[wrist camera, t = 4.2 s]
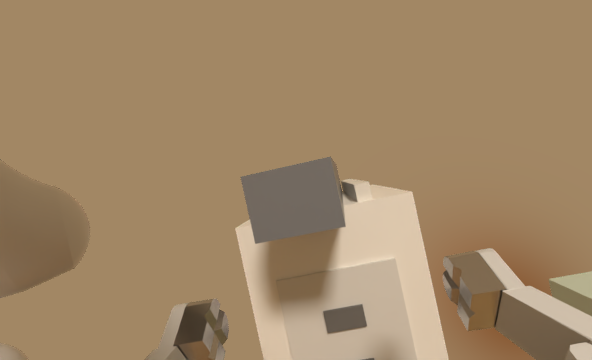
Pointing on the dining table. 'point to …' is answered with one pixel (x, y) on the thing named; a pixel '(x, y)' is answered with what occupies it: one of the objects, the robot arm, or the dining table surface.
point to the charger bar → (294, 200)
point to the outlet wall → (347, 285)
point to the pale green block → (574, 291)
